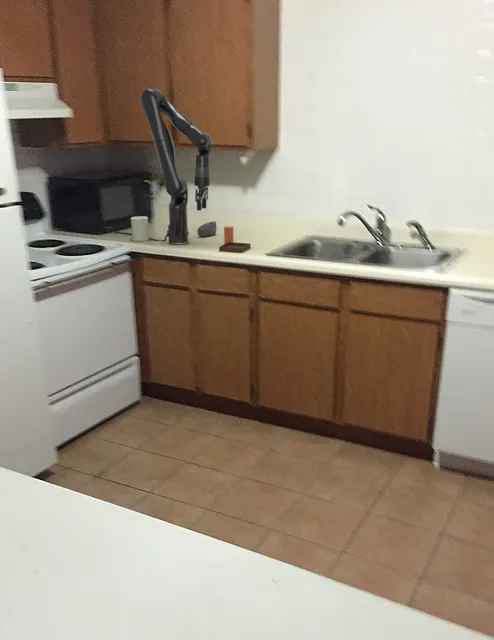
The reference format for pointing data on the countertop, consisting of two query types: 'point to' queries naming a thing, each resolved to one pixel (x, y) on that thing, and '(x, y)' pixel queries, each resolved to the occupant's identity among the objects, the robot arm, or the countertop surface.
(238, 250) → the stand
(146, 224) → the can
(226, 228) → the orange block
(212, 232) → the perforated stone tool
